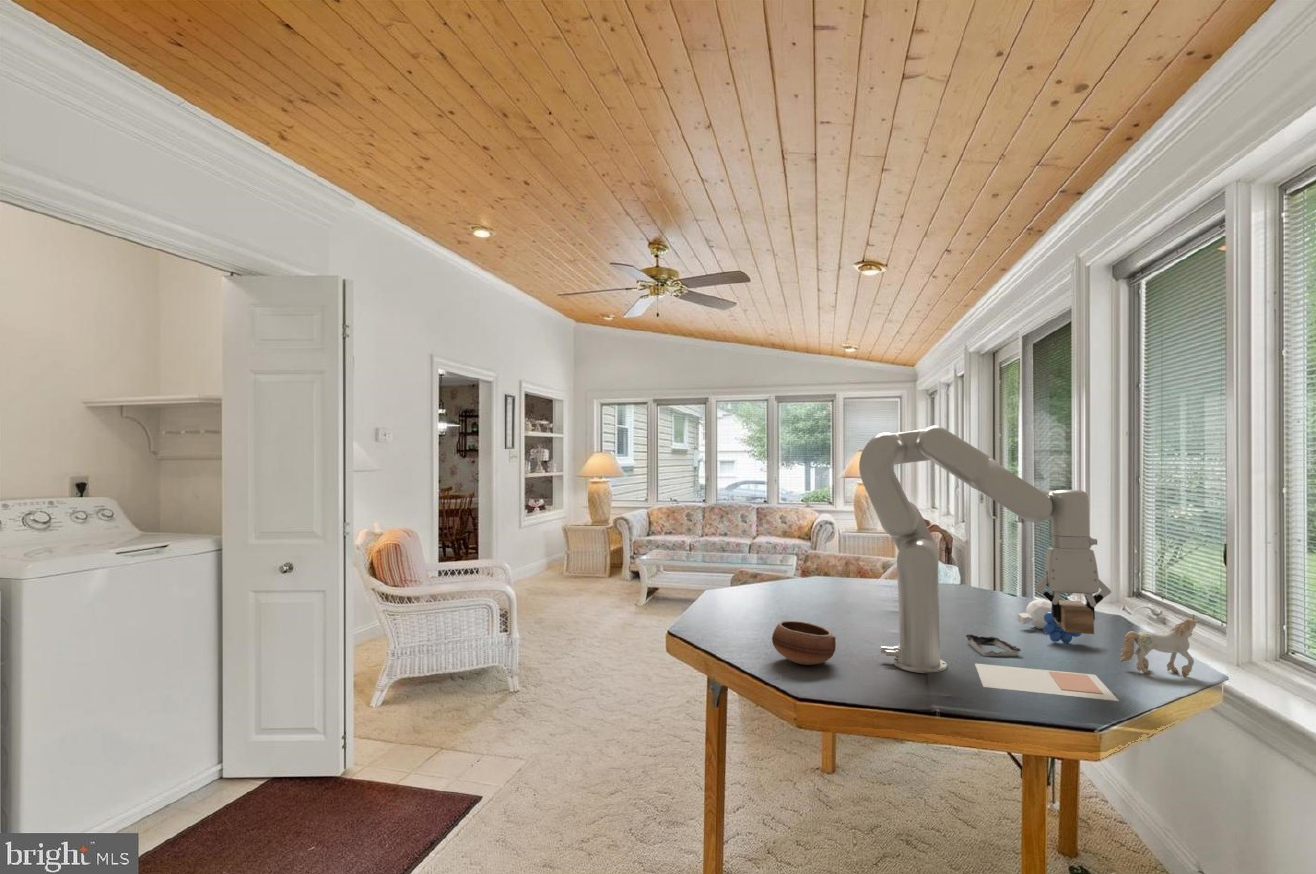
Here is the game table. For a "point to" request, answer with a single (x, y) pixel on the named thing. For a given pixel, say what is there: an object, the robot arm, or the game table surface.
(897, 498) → the robot arm
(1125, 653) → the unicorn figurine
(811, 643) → the bowl
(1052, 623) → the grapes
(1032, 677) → the rubber mat
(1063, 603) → the walnut block
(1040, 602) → the perfume bottle
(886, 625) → the game table surface
